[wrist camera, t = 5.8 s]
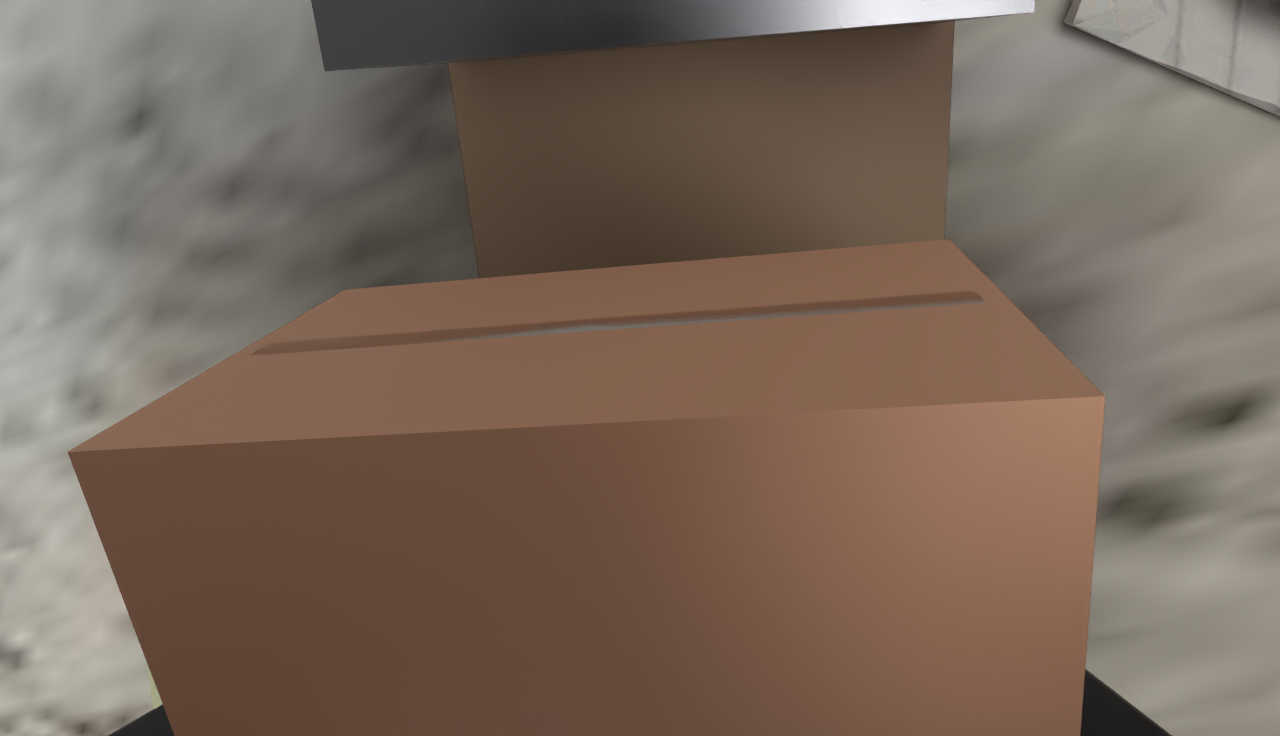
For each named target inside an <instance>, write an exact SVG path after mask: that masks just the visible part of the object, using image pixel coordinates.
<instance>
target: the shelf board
mask: <svg viewBox="0 0 1280 736" xmlns="http://www.w3.org/2000/svg"><path fill="white" fill-rule="evenodd" d="M954 22H955V21H952V22H944V23H933V24H921V25H909V26H896V27H884V28H872V29H860V30H848V31H836V32H824V33H811V34H799V35H787V36H775V37H763V38H751V39H739V40H726V41H714V42H702V43H690V44H678V45H666V46H654V47H641V48H629V49H617V50H605V51H593V52H581V53H569V54H556V55H544V56H532V57H520V58H508V59H496V60H484V61H471V62H459V63H448V67H449V73H450V80H451V87H452V94H453V101H454V108H455V115H456V122H457V129H458V135H459V142H460V149H461V156H462V163H463V170H464V177H465V184H466V191H467V197H468V204H469V211H470V218H471V225H472V232H473V239H474V246H475V252H476V259H477V266H478V273H479V278H489V277H501V276H513V275H525V274H537V273H549V272H561V271H573V270H585V269H597V268H609V267H621V266H633V265H645V264H657V263H669V262H681V261H693V260H705V259H717V258H729V257H740V256H752V255H764V254H776V253H788V252H800V251H812V250H824V249H836V248H848V247H860V246H872V245H884V244H896V243H908V242H920V241H932V240H944V233H945V212H946V191H947V169H948V148H949V127H950V106H951V85H952V64H953V43H954Z"/></svg>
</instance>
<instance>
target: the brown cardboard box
mask: <svg viewBox="0 0 1280 736" xmlns="http://www.w3.org/2000/svg"><path fill="white" fill-rule="evenodd" d="M1104 406H1105V395H1104V394H1103V393H1102V392H1101V391H1100V390H1099V389H1098V388H1097V387H1096V386H1095V385H1094V384H1093V383H1092V382H1091V381H1090V380H1089V379H1088V378H1087V377H1086V376H1085V375H1084V374H1083V373H1082V372H1081V371H1080V370H1079V369H1078V368H1077V367H1076V366H1075V365H1074V364H1073V363H1072V362H1071V361H1070V360H1069V359H1068V358H1067V357H1066V356H1065V355H1064V354H1063V353H1062V352H1061V351H1060V350H1059V349H1058V348H1057V347H1056V346H1055V345H1054V344H1053V343H1052V342H1051V341H1050V340H1049V339H1048V338H1047V337H1046V336H1045V335H1044V334H1043V333H1042V332H1041V331H1040V330H1039V329H1038V328H1037V327H1036V326H1035V325H1034V324H1033V323H1032V322H1031V321H1030V320H1029V319H1028V318H1027V317H1026V316H1025V315H1024V314H1023V313H1022V312H1021V311H1020V310H1019V309H1018V308H1017V307H1016V306H1015V305H1014V304H1013V303H1012V302H1011V301H1010V300H1009V299H1008V298H1007V297H1006V296H1005V294H1004V293H1003V292H1002V291H1001V290H1000V289H999V288H998V287H997V286H996V285H995V284H994V283H993V282H992V281H991V280H990V279H989V278H988V277H987V276H986V275H985V274H984V273H983V272H982V271H981V270H980V269H979V268H978V267H977V266H976V265H975V264H974V263H973V262H972V261H971V260H970V259H969V258H968V257H967V256H966V255H965V254H964V253H963V252H962V251H961V250H960V249H959V248H958V247H957V246H956V245H955V244H954V243H953V242H952V241H951V240H950V239H944V240H932V241H920V242H908V243H896V244H884V245H872V246H860V247H848V248H836V249H824V250H812V251H800V252H788V253H776V254H764V255H752V256H740V257H729V258H717V259H705V260H693V261H681V262H669V263H657V264H645V265H633V266H621V267H609V268H597V269H585V270H573V271H561V272H549V273H537V274H525V275H513V276H501V277H489V278H478V279H466V280H454V281H442V282H430V283H418V284H406V285H394V286H382V287H370V288H358V289H346V290H343V291H342V292H340V293H338V294H337V295H335V296H333V297H331V298H330V299H328V300H326V301H325V302H323V303H321V304H319V305H318V306H316V307H314V308H313V309H311V310H309V311H308V312H306V313H304V314H302V315H301V316H299V317H297V318H296V319H294V320H292V321H290V322H289V323H287V324H285V325H284V326H282V327H280V328H278V329H277V330H275V331H273V332H272V333H270V334H268V335H267V336H265V337H263V338H261V339H260V340H258V341H256V342H255V343H253V344H251V345H249V346H248V347H246V348H244V349H243V350H241V351H239V352H237V353H236V354H234V355H232V356H231V357H229V358H227V359H226V360H224V361H222V362H220V363H219V364H217V365H215V366H214V367H212V368H210V369H208V370H207V371H205V372H203V373H202V374H200V375H198V376H196V377H195V378H193V379H191V380H190V381H188V382H186V383H185V384H183V385H181V386H179V387H178V388H176V389H174V390H173V391H171V392H169V393H167V394H166V395H164V396H162V397H161V398H159V399H157V400H155V401H154V402H152V403H150V404H149V405H147V406H145V407H144V408H142V409H140V410H138V411H137V412H135V413H133V414H132V415H130V416H128V417H126V418H125V419H123V420H121V421H120V422H118V423H116V424H114V425H113V426H111V427H109V428H108V429H106V430H104V431H103V432H101V433H99V434H97V435H96V436H94V437H92V438H91V439H89V440H87V441H85V442H84V443H82V444H80V445H79V446H77V447H75V448H73V449H72V450H70V451H68V454H69V457H70V459H71V462H72V464H73V467H74V470H75V472H76V475H77V478H78V480H79V483H80V486H81V488H82V491H83V494H84V496H85V499H86V502H87V504H88V507H89V510H90V512H91V515H92V518H93V520H94V523H95V526H96V528H97V531H98V534H99V536H100V539H101V542H102V544H103V547H104V550H105V552H106V555H107V557H108V560H109V563H110V565H111V568H112V571H113V573H114V576H115V579H116V581H117V584H118V587H119V589H120V592H121V595H122V597H123V600H124V603H125V605H126V608H127V611H128V613H129V616H130V619H131V621H132V624H133V627H134V629H135V632H136V635H137V637H138V640H139V643H140V645H141V648H142V650H143V653H144V656H145V658H146V661H147V664H148V666H149V669H150V672H151V674H152V677H153V680H154V682H155V685H156V688H157V690H158V693H159V696H160V698H161V701H162V704H163V706H164V709H165V712H166V714H167V717H168V720H169V722H170V725H171V728H172V730H173V733H174V736H1080V732H1081V718H1082V704H1083V691H1084V677H1085V664H1086V650H1087V637H1088V623H1089V610H1090V596H1091V582H1092V569H1093V555H1094V542H1095V528H1096V515H1097V501H1098V488H1099V474H1100V460H1101V447H1102V433H1103V420H1104Z"/></svg>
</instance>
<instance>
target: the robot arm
mask: <svg viewBox="0 0 1280 736" xmlns="http://www.w3.org/2000/svg"><path fill="white" fill-rule="evenodd" d="M108 736H174V733H173V730H172V728H171V725H170V722H169V720H168V717H167V714H166V712H165V709H164V706H163V704H162V705H160V706H158V707H157V708H155V709H153V710H152V711H150V712H148V713H146V714H145V715H143V716H141V717H139V718H138V719H136V720H134V721H132V722H131V723H129V724H127V725H125V726H124V727H122V728H120V729H119V730H117V731H115V732H113V733H112V734H110V735H108ZM1080 736H1172V735H1170V734H1169V733H1168V732H1167V731H1165V730H1164V729H1163V728H1161V727H1160V726H1159V725H1158V724H1156V723H1155V722H1154V721H1152V720H1151V719H1150V718H1148V717H1147V716H1146V715H1145V714H1143V713H1142V712H1141V711H1139V710H1138V709H1137V708H1136V707H1134V706H1133V705H1132V704H1130V703H1129V702H1128V701H1126V700H1125V699H1124V698H1123V697H1121V696H1120V695H1119V694H1117V693H1116V692H1115V691H1114V690H1112V689H1111V688H1110V687H1108V686H1107V685H1106V684H1104V683H1103V682H1102V681H1101V680H1099V679H1098V678H1097V677H1095V676H1094V675H1093V674H1092V673H1090V672H1089V671H1088V670H1086V669H1085V677H1084V691H1083V704H1082V718H1081V732H1080Z"/></svg>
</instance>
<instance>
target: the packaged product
mask: <svg viewBox="0 0 1280 736" xmlns="http://www.w3.org/2000/svg"><path fill="white" fill-rule="evenodd" d="M1063 23H1065V24H1068V25H1070V26H1073V27H1075V28H1077V29H1080V30H1082V31H1084V32H1087V33H1089V34H1091V35H1094V36H1096V37H1098V38H1100V39H1103V40H1105V41H1107V42H1109V43H1112V44H1114V45H1116V46H1119V47H1121V48H1123V49H1125V50H1128V51H1130V52H1132V53H1134V54H1137V55H1139V56H1141V57H1144V58H1146V59H1148V60H1150V61H1153V62H1155V63H1157V64H1159V65H1162V66H1164V67H1166V68H1169V69H1171V70H1173V71H1176V72H1178V73H1180V74H1183V75H1185V76H1187V77H1189V78H1192V79H1194V80H1196V81H1199V82H1201V83H1203V84H1206V85H1208V86H1210V87H1213V88H1215V89H1217V90H1220V91H1222V92H1224V93H1226V94H1229V95H1231V96H1233V97H1236V98H1238V99H1240V100H1243V101H1245V102H1247V103H1250V104H1252V105H1254V106H1257V107H1259V108H1261V109H1263V110H1266V111H1268V112H1270V113H1273V114H1275V115H1278V116H1280V0H1073V1H1072V4H1071V6H1070V8H1069V11H1068V13H1067V15H1066V18H1065V20H1064V22H1063Z"/></svg>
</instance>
